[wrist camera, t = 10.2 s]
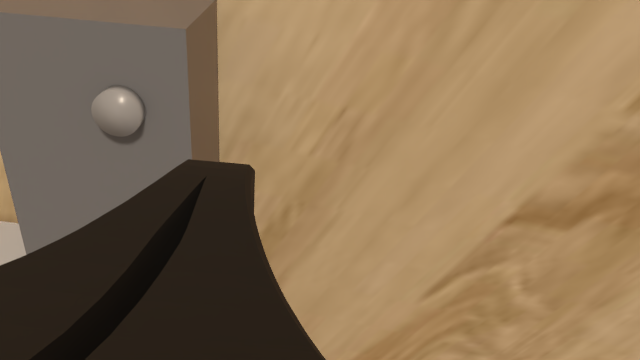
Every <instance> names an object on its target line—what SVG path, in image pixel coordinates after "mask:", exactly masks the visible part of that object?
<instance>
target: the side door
mask: <svg viewBox="0 0 640 360" xmlns="http://www.w3.org/2000/svg"><path fill="white" fill-rule="evenodd" d="M25 255H26V251H25V247H24V243H23V239H22V235H21V231H20V227H19V223H12V222H3V221H0V265H2V264H5V263H7V262H10V261H13V260H15V259H18V258H20V257H22V256H25Z"/></svg>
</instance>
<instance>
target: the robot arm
mask: <svg viewBox="0 0 640 360" xmlns="http://www.w3.org/2000/svg"><path fill="white" fill-rule="evenodd" d="M254 183H255V170H254V169H253V168H252V167H251V166H250V165H247V164H235V163H224V162H213V161H202V160H191V159H188V160H186V161H185V162H183V163H182V164H180V165H178V166H177V167H176V168H174V169H173V170H171V171H170V172H168V173H167V174H165V175H164V176H163V177H161V178H160V179H158V180H157V181H155V182H154V183H152V184H151V185H149V186H148V187H146V188H145V189H143V190H142V191H140V192H139V193H137V194H136V195H134V196H133V197H132V198H130V199H129V200H127V201H125V202H124V203H122V204H121V205H119V206H117V207H116V208H114V209H112V210H111V211H109V212H107V213H105V214H104V215H102V216H100V217H99V218H97V219H95V220H94V221H92V222H90V223H89V224H87V225H85V226H84V227H82V228H80V229H78V230H76V231H74V232H73V233H71V234H69V235H67V236H65V237H63V238H61V239H59V240H57V241H55V242H53V243H50V244H48V245H46V246H44V247H42V248H40V249H38V250H36V251H34V252H31V253H29V254H27V255H25V256H22V257H20V258H18V259H15V260H13V261H10V262H7V263H5V264H2V265H0V360H326V359H325V358H324V357H323V356H322V354H321V353H320V351H319V350H318V349H317V347H316V346H315V345H314V343H313V342H312V340H311V339H310V338H309V336H308V335H307V333H306V332H305V330H304V329H303V327H302V325H301V324H300V322H299V320H298V319H297V317H296V315H295V314H294V312H293V311H292V309H291V307H290V306H289V304H288V302H287V301H286V299H285V297H284V295H283V293H282V291H281V289H280V287H279V285H278V283H277V281H276V279H275V277H274V274H273V272H272V270H271V267H270V265H269V263H268V260H267V257H266V255H265V252H264V249H263V246H262V243H261V240H260V236H259V233H258V229H257V226H256V221H255V216H254Z"/></svg>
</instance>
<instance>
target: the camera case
mask: <svg viewBox="0 0 640 360" xmlns="http://www.w3.org/2000/svg"><path fill="white" fill-rule="evenodd" d="M0 151H1V155H2V159H3V163H4V167H5V171H6V175H7V179H8V183H9V187H10V191H11V195H12V199H13V203H14V207H15V211H16V215H17V219H18V223H19V227H20V231H21V235H22V239H23V243H24V247H25V251H26V255H27V254H29V253H31V252H34V251H36V250H38V249H40V248H42V247H44V246H46V245H48V244H50V243H53V242H55V241H57V240H59V239H61V238H63V237H65V236H67V235H69V234H71V233H73V232H74V231H76V230H78V229H80V228H82V227H84V226H85V225H87V224H89V223H90V222H92V221H94V220H95V219H97V218H99V217H100V216H102V215H104V214H105V213H107V212H109V211H111V210H112V209H114V208H116V207H117V206H119V205H121V204H122V203H124V202H125V201H127V200H129V199H130V198H132V197H133V196H134V195H136V194H137V193H139V192H140V191H142V190H143V189H145V188H146V187H148V186H149V185H151V184H152V183H154V182H155V181H157V180H158V179H160V178H161V177H163V176H164V175H165V174H167V173H168V172H170V171H171V170H173V169H174V168H176V167H177V166H178V165H180V164H182V163H183V162H185V161H186V160H188V159H191V160H202V161H213V162H219V117H218V58H217V0H0Z"/></svg>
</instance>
